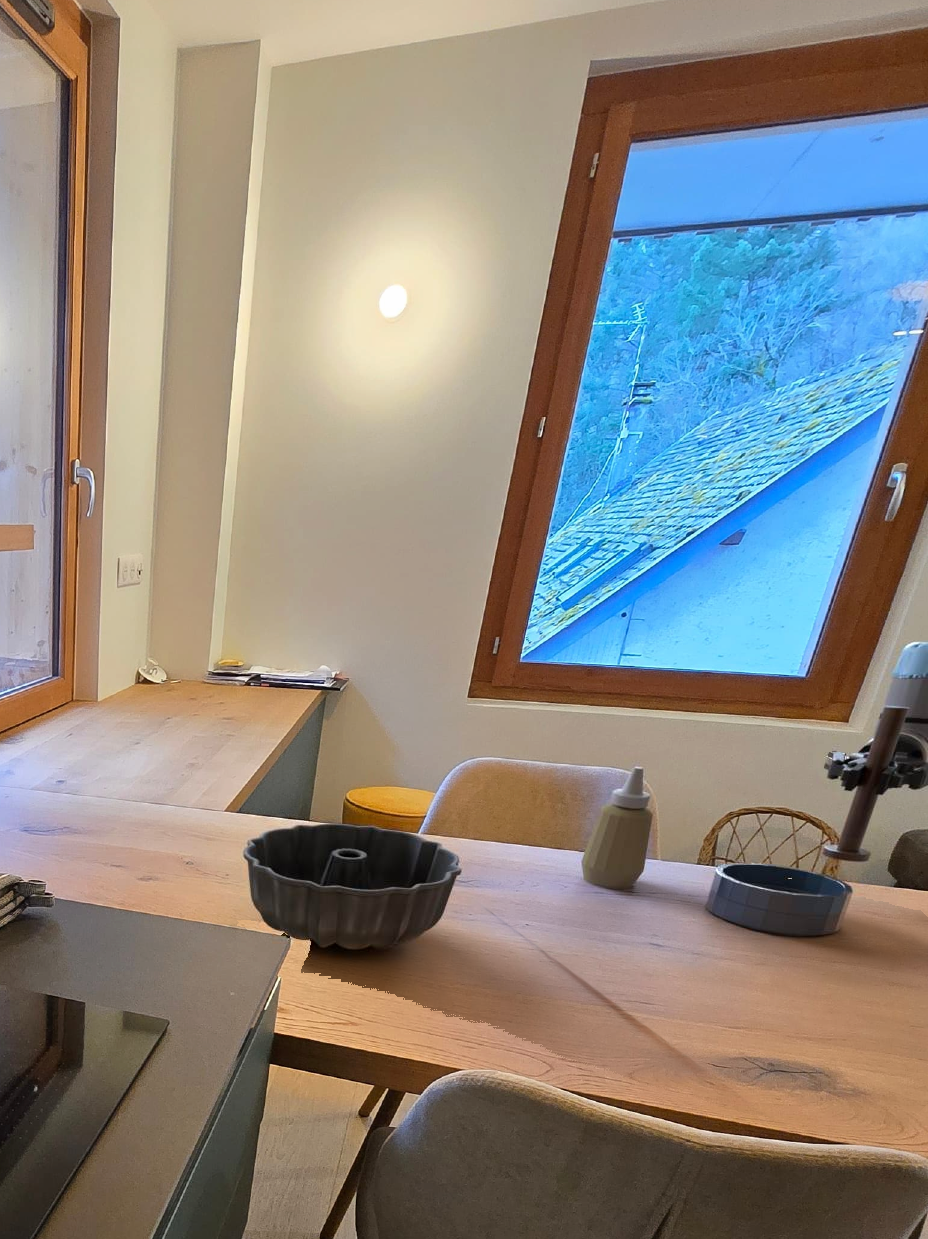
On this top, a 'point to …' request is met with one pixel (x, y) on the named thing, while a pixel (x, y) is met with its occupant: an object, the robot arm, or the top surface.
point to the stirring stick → (868, 787)
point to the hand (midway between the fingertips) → (866, 782)
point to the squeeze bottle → (620, 837)
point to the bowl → (778, 899)
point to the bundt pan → (349, 883)
